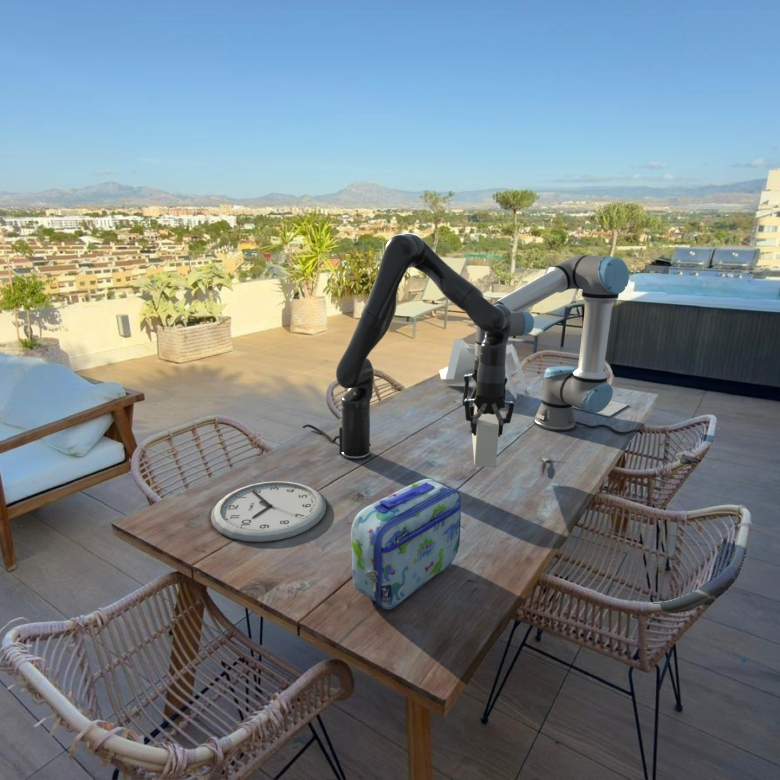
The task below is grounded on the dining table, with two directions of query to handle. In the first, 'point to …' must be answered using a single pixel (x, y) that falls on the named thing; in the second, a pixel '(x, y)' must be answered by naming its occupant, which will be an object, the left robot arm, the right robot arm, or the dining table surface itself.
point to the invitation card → (611, 408)
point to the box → (485, 440)
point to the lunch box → (405, 541)
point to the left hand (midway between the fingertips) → (486, 435)
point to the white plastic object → (464, 364)
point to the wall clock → (268, 511)
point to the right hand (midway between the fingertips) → (481, 426)
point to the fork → (545, 460)
